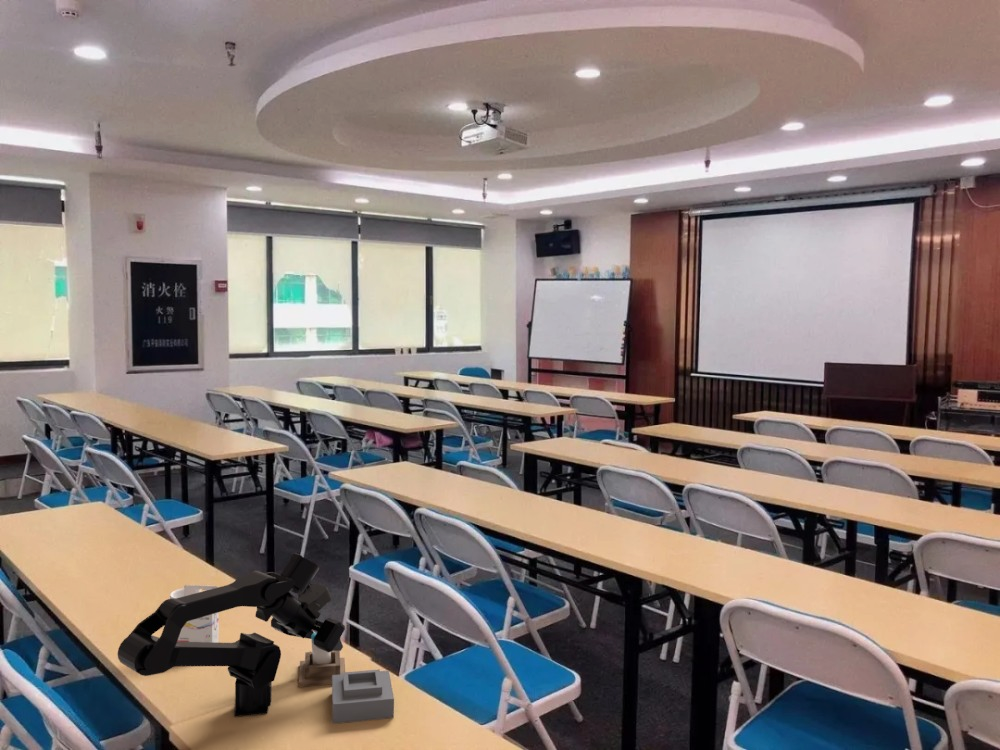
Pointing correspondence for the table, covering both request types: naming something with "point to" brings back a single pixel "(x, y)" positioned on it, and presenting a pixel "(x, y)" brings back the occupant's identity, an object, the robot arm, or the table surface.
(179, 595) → the teacup
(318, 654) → the plug
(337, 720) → the upper dock
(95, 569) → the table surface
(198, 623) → the ink cartridge box
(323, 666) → the low dock
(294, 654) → the table surface
